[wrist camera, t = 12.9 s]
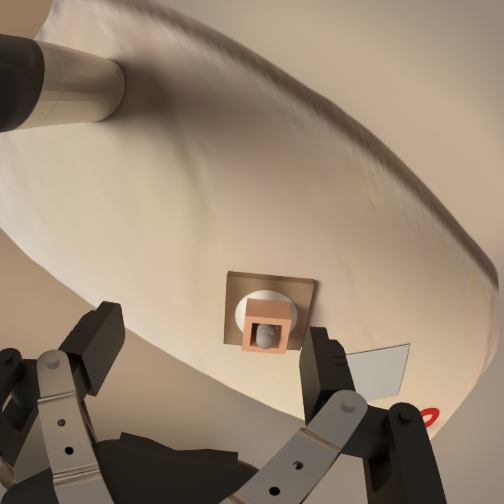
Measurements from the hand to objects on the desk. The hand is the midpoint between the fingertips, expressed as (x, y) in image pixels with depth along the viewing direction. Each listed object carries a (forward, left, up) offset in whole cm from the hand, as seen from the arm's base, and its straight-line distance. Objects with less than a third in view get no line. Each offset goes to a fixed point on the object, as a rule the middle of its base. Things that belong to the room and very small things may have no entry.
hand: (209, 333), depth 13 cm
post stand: (+4, -18, -29) cm, 34 cm away
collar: (+4, -18, -27) cm, 33 cm away
